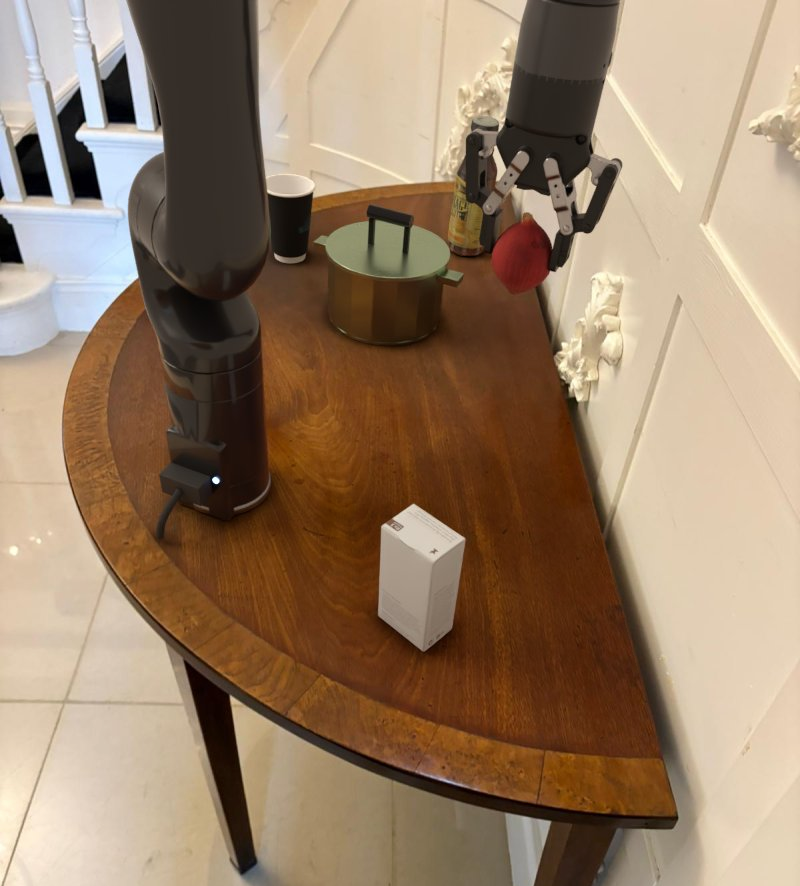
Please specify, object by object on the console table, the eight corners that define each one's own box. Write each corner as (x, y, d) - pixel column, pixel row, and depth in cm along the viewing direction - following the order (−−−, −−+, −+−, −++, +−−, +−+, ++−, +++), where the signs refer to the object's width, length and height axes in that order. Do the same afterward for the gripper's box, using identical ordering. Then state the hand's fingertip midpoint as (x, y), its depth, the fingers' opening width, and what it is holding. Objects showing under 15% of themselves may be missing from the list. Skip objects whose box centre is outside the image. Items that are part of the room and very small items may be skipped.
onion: (543, 283, 80) (561, 205, 74) (544, 311, 76) (563, 230, 70) (486, 276, 80) (500, 197, 74) (484, 303, 76) (498, 222, 70)
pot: (431, 363, 104) (439, 297, 97) (291, 321, 108) (289, 255, 102) (471, 311, 114) (481, 248, 107) (341, 274, 119) (343, 212, 112)
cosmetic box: (453, 628, 73) (472, 537, 64) (421, 656, 70) (436, 564, 62) (405, 591, 75) (416, 499, 67) (372, 617, 73) (379, 524, 64)
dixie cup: (261, 245, 124) (257, 173, 116) (311, 243, 125) (310, 172, 118) (267, 269, 118) (264, 195, 111) (319, 267, 120) (319, 194, 112)
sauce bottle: (441, 242, 129) (456, 111, 115) (476, 239, 131) (495, 110, 117) (454, 260, 125) (472, 127, 111) (490, 258, 127) (512, 126, 113)
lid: (421, 299, 98) (426, 251, 93) (302, 265, 101) (302, 218, 97) (466, 247, 109) (472, 202, 104) (358, 219, 112) (359, 174, 108)
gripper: (462, 54, 63) (438, 255, 75) (639, 91, 59) (584, 296, 71) (493, 35, 68) (465, 226, 80) (657, 69, 64) (603, 263, 76)
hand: (521, 258), depth 75 cm, fingers closed on onion, 6 cm apart
